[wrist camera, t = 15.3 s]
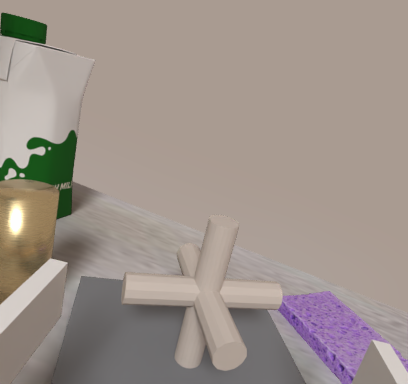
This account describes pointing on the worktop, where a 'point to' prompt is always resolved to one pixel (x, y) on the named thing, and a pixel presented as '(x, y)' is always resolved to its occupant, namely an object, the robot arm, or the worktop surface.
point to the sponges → (332, 331)
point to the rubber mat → (158, 344)
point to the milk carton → (39, 107)
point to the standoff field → (25, 230)
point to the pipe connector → (205, 297)
